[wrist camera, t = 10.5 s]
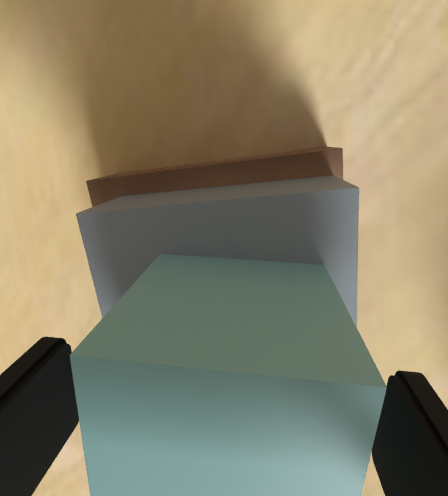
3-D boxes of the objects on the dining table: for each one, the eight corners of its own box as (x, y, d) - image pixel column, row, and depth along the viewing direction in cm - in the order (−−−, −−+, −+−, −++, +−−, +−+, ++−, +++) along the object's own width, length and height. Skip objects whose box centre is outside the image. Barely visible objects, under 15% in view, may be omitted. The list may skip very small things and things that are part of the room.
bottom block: (120, 173, 19) (86, 181, 16) (325, 146, 18) (342, 148, 14) (158, 343, 23) (137, 382, 19) (331, 335, 21) (346, 377, 17)
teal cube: (159, 253, 12) (69, 355, 6) (324, 264, 11) (386, 387, 6) (164, 383, 14) (98, 550, 8) (305, 398, 13) (338, 589, 8)
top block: (121, 196, 16) (75, 213, 12) (333, 175, 14) (358, 187, 10) (156, 367, 19) (129, 424, 15) (334, 364, 17) (354, 426, 13)
